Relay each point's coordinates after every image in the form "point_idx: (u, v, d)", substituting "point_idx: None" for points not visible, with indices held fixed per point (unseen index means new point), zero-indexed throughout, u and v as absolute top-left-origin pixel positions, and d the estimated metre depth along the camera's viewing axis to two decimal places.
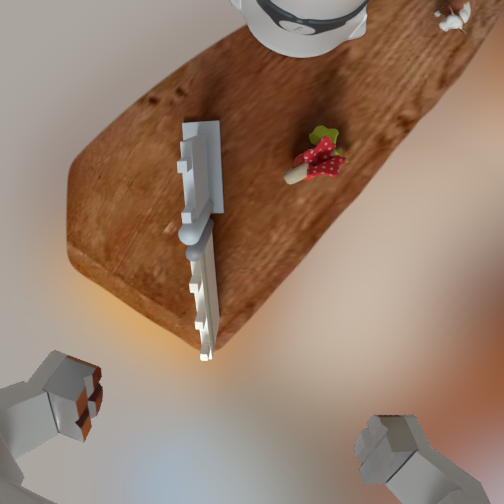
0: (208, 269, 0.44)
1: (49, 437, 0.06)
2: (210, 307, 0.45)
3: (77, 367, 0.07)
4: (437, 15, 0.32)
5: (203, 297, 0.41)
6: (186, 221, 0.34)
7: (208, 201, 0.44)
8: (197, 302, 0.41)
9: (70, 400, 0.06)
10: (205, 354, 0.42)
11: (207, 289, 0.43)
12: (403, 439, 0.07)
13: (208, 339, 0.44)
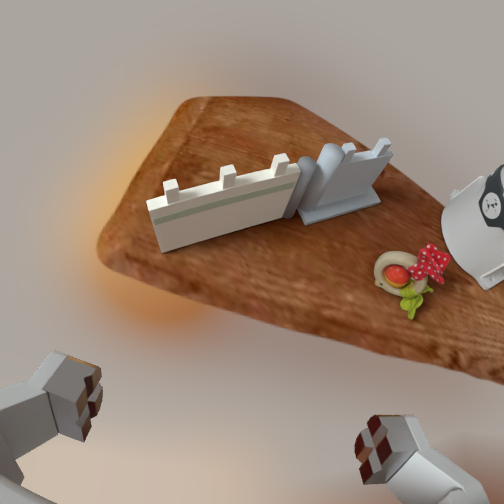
0: (262, 202, 0.37)
1: (49, 437, 0.06)
2: (217, 208, 0.34)
3: (77, 367, 0.07)
4: None
5: (254, 181, 0.32)
6: (347, 146, 0.33)
7: (318, 202, 0.42)
8: (244, 176, 0.32)
9: (70, 400, 0.06)
10: (176, 185, 0.28)
11: (250, 195, 0.34)
12: (403, 439, 0.07)
13: (187, 198, 0.30)
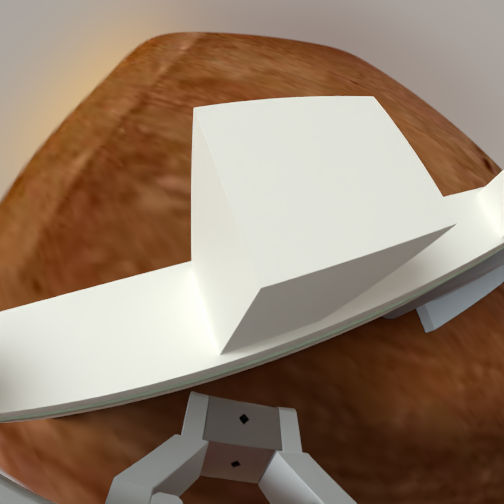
0: None
1: (192, 482, 0.07)
2: None
3: (226, 407, 0.07)
4: None
5: (438, 269, 0.04)
6: None
7: None
8: None
9: (237, 444, 0.06)
10: None
11: (363, 320, 0.06)
12: (264, 434, 0.07)
13: None
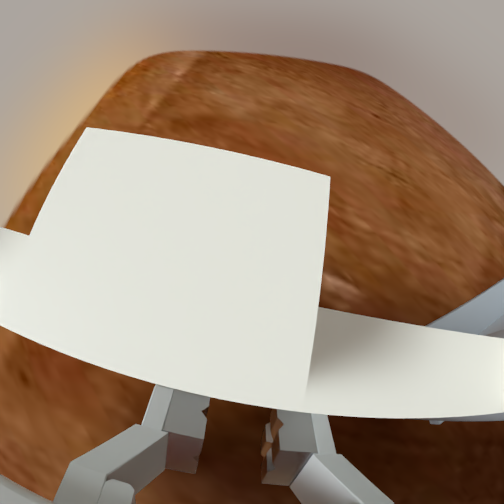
0: None
1: (157, 474, 0.07)
2: None
3: (190, 400, 0.07)
4: None
5: (409, 409, 0.03)
6: None
7: None
8: (366, 335, 0.04)
9: (197, 437, 0.06)
10: None
11: None
12: (299, 438, 0.07)
13: None
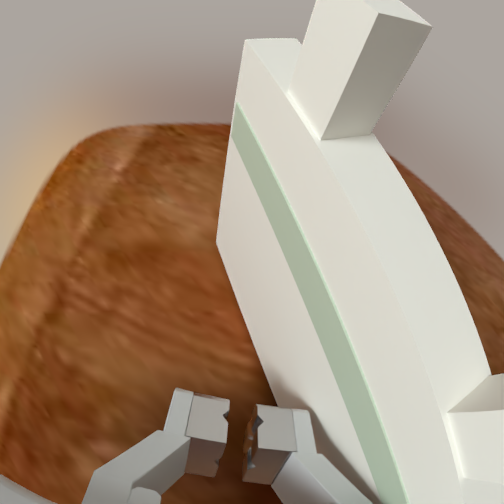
0: None
1: (176, 479, 0.07)
2: (337, 395, 0.06)
3: (211, 404, 0.07)
4: None
5: None
6: None
7: None
8: None
9: (219, 441, 0.06)
10: (387, 16, 0.03)
11: None
12: (279, 436, 0.07)
13: (345, 177, 0.04)
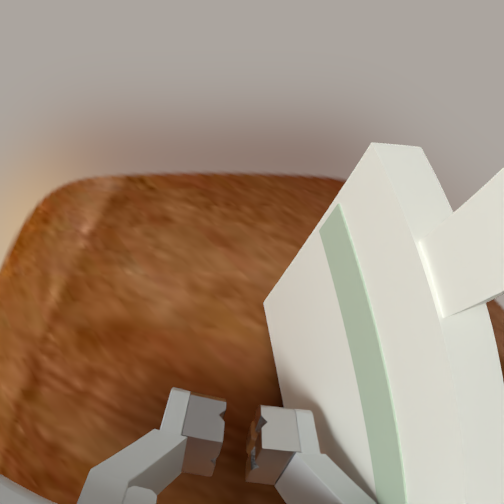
0: None
1: (173, 478, 0.07)
2: None
3: (207, 403, 0.07)
4: None
5: None
6: None
7: None
8: None
9: (216, 441, 0.06)
10: None
11: None
12: (282, 436, 0.07)
13: (457, 364, 0.04)
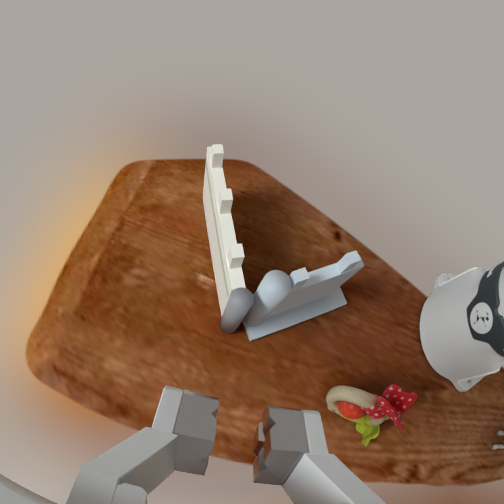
0: (220, 269, 0.33)
1: (166, 476, 0.07)
2: (213, 217, 0.34)
3: (200, 402, 0.07)
4: (499, 433, 0.34)
5: (223, 234, 0.29)
6: (296, 275, 0.27)
7: None
8: (231, 226, 0.30)
9: (207, 439, 0.06)
10: (215, 153, 0.30)
11: (219, 243, 0.31)
12: (291, 437, 0.07)
13: (213, 173, 0.32)
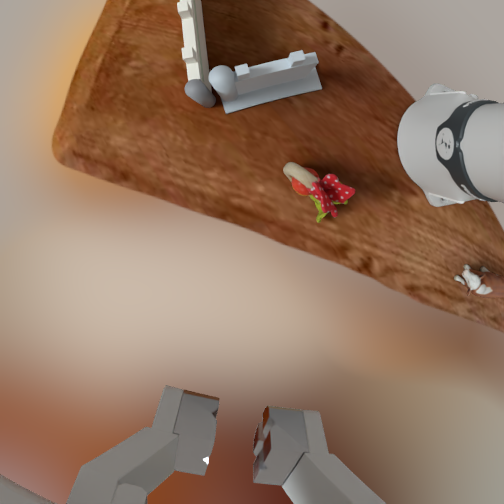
0: None
1: (166, 476, 0.07)
2: None
3: (200, 402, 0.07)
4: (465, 267, 0.46)
5: (184, 36, 0.27)
6: (238, 70, 0.27)
7: (237, 94, 0.37)
8: (191, 28, 0.27)
9: (207, 439, 0.06)
10: None
11: None
12: (291, 437, 0.07)
13: None
